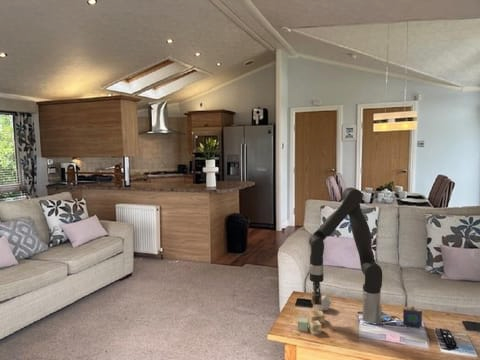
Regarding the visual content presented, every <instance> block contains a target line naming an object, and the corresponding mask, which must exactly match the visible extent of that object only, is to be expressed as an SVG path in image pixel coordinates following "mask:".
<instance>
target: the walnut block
mask: <svg viewBox="0 0 480 360" xmlns="http://www.w3.org/2000/svg"><path fill="white" fill-rule="evenodd" d="M310 295H311V298H310V299H311V305H313V306H314V305H315V306H316V305H322V293H321V291H320V298H319V304H315V293H314V292H313V291H311V294H310ZM316 296H318V295H316Z"/></svg>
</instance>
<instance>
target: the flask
mask: <svg viewBox="0 0 480 360" xmlns="http://www.w3.org/2000/svg"><path fill="white" fill-rule="evenodd" d="M402 313H403V314H402V319H403V320H402V322H403V323H402V325H403V324H404V325H406V326H405V327H409V326H410V327H411V328H423V310H422V309H419V308H415V306H414V305H413V306H411V307H404V308H403V310H402ZM404 325H403V326H404Z"/></svg>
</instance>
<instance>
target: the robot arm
mask: <svg viewBox="0 0 480 360" xmlns="http://www.w3.org/2000/svg"><path fill="white" fill-rule="evenodd" d="M341 196H342V197H341V198H342V203H341V205H340V206H339V207H338V208H337V209H336V210H335V211H333V212H332V213H331V214H330V215H329V216H328V217H327V218H326V219H325V220H324V222H323V223H322V224H321V225H320V227H319V228H318V229H317V230H315V231H314V232H313V233H312V234H311V236H310V237H309V239H308V243H309V245H310V249H311V250H310V252H311V253H310V255H309V281H310V282H312V290H313V291H312V292H314V293H315V304H319V298H320V292H321V283H322V282H324V280H325V279H324V273H325V272H324V269H325V268H324V250H325V242H324V240H326V239H327V238H328V237H331V235H332V234H333V233H334V232H335V230H336V229H337V228H338V227H339V226H340V224H341V223H342V222H343V221H344V219H346V217H348V220H349V224H350V227H351V228H350V229H351V233H352V236H353V237H352V238H353V240H354V242H355V243H354V244H355V246H356V250H357V253H358V255H359V256H358V257H359V263H360V269H361V273H362V274H363V275H364V283H363V284H362V321H363V320H364V321H366V322H369V323H378V322H381V323H382V321H383V320H382V319H383V318H382V312H383V310H382V309H383V307H382V305H381V296H382V295H381V293H382V292H381V290H382V287H383V270H382V267H381V266H380V265H379V264H377V262H376V260H375V257H374V253H373V251H372V250H373V249H372V243H373V241H372V239H373V238H372V233H371V230H370V226H369V222H367V219H366V218H365V215H364V214H363V212H362V208H361V203H362V202H363V200H364V196H363V192H362V191H361V190H359V189H357V188H354V187H347V188H345V189H344V190H343V192H342V194H341ZM316 295H318V296H316ZM364 321H363V322H364ZM366 322H365V323H366Z"/></svg>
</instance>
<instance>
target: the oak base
mask: <svg viewBox="0 0 480 360" xmlns="http://www.w3.org/2000/svg"><path fill="white" fill-rule="evenodd" d="M308 311H309V312H308V314H309V315H308V321H317V320H318V321H319V322H320V324H321V326H325V325H326V323H325V322H326V321H325V320H326V317H325V315H324V314H325V313H323V311H319V310H308Z"/></svg>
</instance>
